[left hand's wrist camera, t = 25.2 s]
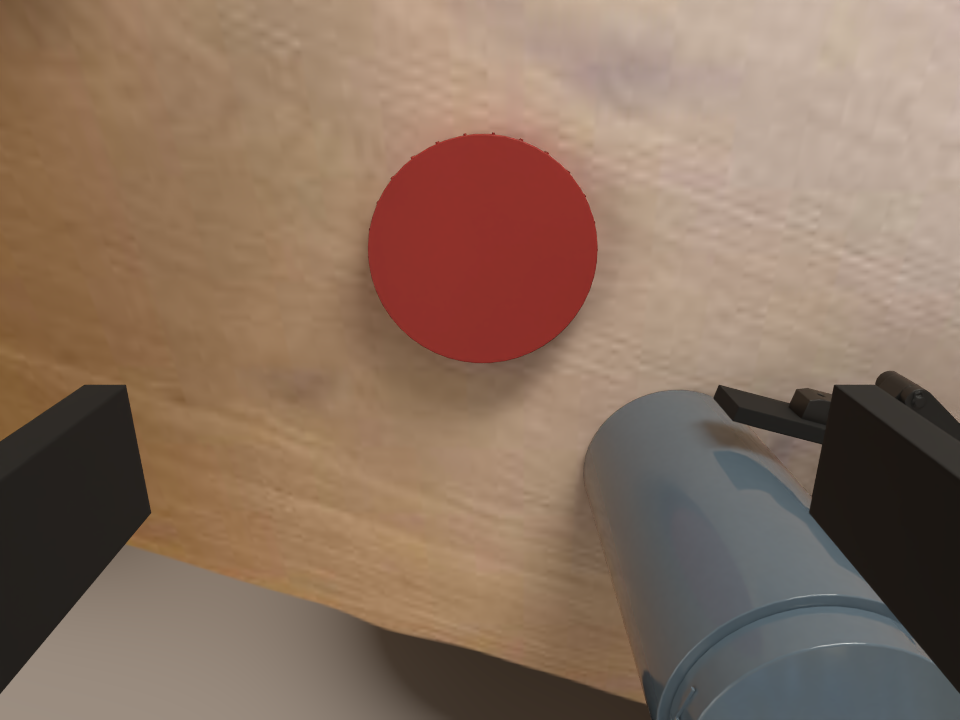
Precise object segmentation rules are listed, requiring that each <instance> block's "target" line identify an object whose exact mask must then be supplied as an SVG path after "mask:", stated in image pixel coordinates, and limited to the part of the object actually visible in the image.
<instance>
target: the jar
mask: <svg viewBox="0 0 960 720" xmlns="http://www.w3.org/2000/svg"><path fill="white" fill-rule="evenodd" d="M713 398H714V397H711V396H709V395H706V394H703V393H699V392H694V391H686V390H669V391H662V392H656V393H653V394H649V395H646V396H643V397H640V398H638V399H635V400H634V401H632V402H630V403H628V404H626V405H625V406H623V407H622V408H620V409H619V410H617V411H616V412H615V413H614V414H613V415H611V416H610V417H609V418H608V419H607V420H606V421H605V422H604V424H603V425H602V426H601V427H600V428H599V430H598V431H597V433H596V434H595V436H594V437H593V439H592V441H591V443H590V445H589V448H588V451H587V454H586V458H585V463H584V484H585V489H586V493H587V496H588V500H589V503H590V507H591V510H592V514H593V517H594V521H595V524H596V528H597V531H598V535H599V538H600V542H601V545H602V549H603V552H604V556H605V559H606V563H607V566H608V570H609V573H610V577H611V580H612V584H613V587H614V591H615V594H616V598H617V601H618V605H619V608H620V612H621V615H622V619H623V622H624V626H625V629H626V633H627V636H628V640H629V643H630V647H631V650H632V654H633V657H634V661H635V664H636V668H637V671H638V675H639V678H640V682H641V685H642V689H643V692H644V696H645V699H646V703H647V706H648V710H649V713H650V717H651V720H960V694H959V692H958V691H957V690H956V689H955V688H954V686H953V685H952V684H951V683H950V682H949V680H948V679H947V678H946V677H945V676H944V674H943V673H942V672H941V671H940V670H939V668H938V667H937V666H936V665H935V664H934V662H933V661H932V660H931V659H930V658H929V656H928V655H927V654H926V653H925V652H924V650H923V649H922V648H921V647H920V646H919V644H918V643H917V642H916V641H915V640H914V638H913V637H912V636H911V635H910V634H909V632H908V631H907V630H906V629H905V628H904V626H903V625H902V624H901V623H900V622H899V620H898V619H897V618H896V617H895V616H894V614H893V613H892V612H891V611H890V610H889V608H888V607H887V606H886V605H885V604H884V602H883V601H882V600H881V599H880V598H879V596H878V595H877V594H876V593H875V592H874V590H873V589H872V588H871V587H870V586H869V584H868V583H867V582H866V581H865V580H864V578H863V577H862V576H861V575H860V574H859V572H858V571H857V570H856V569H855V568H854V566H853V565H852V564H851V563H850V562H849V560H848V559H847V558H846V557H845V556H844V554H843V553H842V552H841V551H840V550H839V548H838V547H837V546H836V545H835V544H834V542H833V541H832V540H831V539H830V538H829V536H828V535H827V534H826V533H825V532H824V530H823V529H822V528H821V527H820V526H819V525H818V523H817V522H816V521H815V520H814V519H813V517H812V516H811V515H810V514H809V510H810V505H811V500H812V496H811V495H810V494H809V493H808V492H807V491H806V490H805V489H804V487H803V486H802V485H801V484H800V483H799V482H798V481H797V480H796V478H795V477H794V476H793V475H792V474H791V473H790V472H789V471H788V470H787V468H786V467H785V466H784V465H783V464H782V463H781V462H780V461H779V459H778V458H777V457H776V456H775V455H774V454H773V453H772V452H771V450H770V449H769V448H768V447H767V446H766V445H765V444H764V443H763V441H762V440H761V439H760V438H759V437H758V436H757V435H756V434H755V433H754V431H753V430H752V429H751V428H750V427H749V426H748V425H745V424H741V423H738V422H734V421H732V420H731V419H730V417H729V416H728V415H727V414H726V413H725V412H724V410H723V409H722V408H721V407H720V406H719V405H718V403H717V402H716V401H715V400H714V399H713Z"/></svg>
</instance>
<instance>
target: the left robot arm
mask: <svg viewBox="0 0 960 720" xmlns="http://www.w3.org/2000/svg"><path fill="white" fill-rule="evenodd" d="M150 514H151V510H150V505H149V500H148V494H147V489H146V484H145V479H144V474H143V469H142V464H141V459H140V454H139V449H138V444H137V439H136V434H135V429H134V424H133V419H132V414H131V408H130V403H129V398H128V393H127V388H126V385H84V386H82V387H81V388H79V389H78V390H76V391H75V392H73V393H72V394H70V395H69V396H67V397H66V398H64V399H63V400H61V401H60V402H58V403H57V404H55V405H54V406H52V407H51V408H49V409H48V410H47V411H45V412H44V413H42V414H41V415H39V416H38V417H36V418H35V419H33V420H32V421H30V422H29V423H27V424H26V425H24V426H23V427H21V428H20V429H18V430H17V431H15V432H14V433H12V434H11V435H9V436H8V437H6V438H5V439H3V440H2V441H0V694H1V692H2V691H3V690H4V689H5V688H6V686H7V685H8V684H9V683H10V682H11V680H12V679H13V678H14V677H15V676H16V674H17V673H18V672H19V671H20V670H21V668H22V667H23V666H24V665H25V664H26V662H27V661H28V660H29V659H30V658H31V656H32V655H33V654H34V653H35V652H36V650H37V649H38V648H39V647H40V646H41V644H42V643H43V642H44V641H45V640H46V638H47V637H48V636H49V635H50V634H51V632H52V631H53V630H54V629H55V628H56V626H57V625H58V624H59V623H60V622H61V620H62V619H63V618H64V617H65V616H66V614H67V613H68V612H69V611H70V610H71V608H72V607H73V606H74V605H75V604H76V602H77V601H78V600H79V599H80V598H81V596H82V595H83V594H84V593H85V592H86V590H87V589H88V588H89V587H90V586H91V584H92V583H93V582H94V581H95V580H96V578H97V577H98V576H99V575H100V574H101V572H102V571H103V570H104V569H105V568H106V566H107V565H108V564H109V563H110V562H111V560H112V559H113V558H114V557H115V556H116V554H117V553H118V552H119V551H120V550H121V548H122V547H123V546H124V545H125V544H126V542H127V541H128V540H129V539H130V538H131V536H132V535H133V534H134V533H135V532H136V530H137V529H138V528H139V527H140V526H141V525H142V523H143V522H144V521H145V520H146V519H147V517H148V516H149V515H150ZM809 514H810V515H811V516H812V517H813V519H814V520H815V521H816V522H817V523H818V525H819V526H820V527H821V528H822V529H823V530H824V532H825V533H826V534H827V535H828V536H829V538H830V539H831V540H832V541H833V542H834V544H835V545H836V546H837V547H838V548H839V550H840V551H841V552H842V553H843V554H844V556H845V557H846V558H847V559H848V560H849V562H850V563H851V564H852V565H853V566H854V568H855V569H856V570H857V571H858V572H859V574H860V575H861V576H862V577H863V578H864V580H865V581H866V582H867V583H868V584H869V586H870V587H871V588H872V589H873V590H874V592H875V593H876V594H877V595H878V596H879V598H880V599H881V600H882V601H883V602H884V604H885V605H886V606H887V607H888V608H889V610H890V611H891V612H892V613H893V614H894V616H895V617H896V618H897V619H898V620H899V622H900V623H901V624H902V625H903V626H904V628H905V629H906V630H907V631H908V632H909V634H910V635H911V636H912V637H913V638H914V640H915V641H916V642H917V643H918V644H919V646H920V647H921V648H922V649H923V650H924V652H925V653H926V654H927V655H928V656H929V658H930V659H931V660H932V661H933V662H934V664H935V665H936V666H937V667H938V668H939V670H940V671H941V672H942V673H943V674H944V676H945V677H946V678H947V679H948V680H949V682H950V683H951V684H952V685H953V686H954V688H955V689H956V690H957V691H958V692H959V694H960V441H958V440H957V439H955V438H954V437H952V436H951V435H949V434H948V433H946V432H945V431H943V430H942V429H940V428H939V427H937V426H936V425H934V424H933V423H931V422H930V421H928V420H927V419H925V418H924V417H922V416H921V415H919V414H918V413H916V412H915V411H913V410H912V409H911V408H909V407H908V406H906V405H905V404H903V403H902V402H900V401H899V400H897V399H896V398H894V397H893V396H891V395H890V394H888V393H887V392H885V391H884V390H882V389H881V388H879V387H878V386H876V385H834V388H833V393H832V398H831V403H830V408H829V413H828V419H827V424H826V429H825V434H824V439H823V444H822V449H821V454H820V459H819V464H818V469H817V474H816V479H815V484H814V489H813V494H812V500H811V505H810V510H809Z"/></svg>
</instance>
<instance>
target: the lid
mask: <svg viewBox="0 0 960 720" xmlns="http://www.w3.org/2000/svg"><path fill="white" fill-rule="evenodd" d="M463 135H464V136H459V137H455V138H452V139H449V140H445V141H443V142H439V141H438V142H436V145H434V146H431V147H429V148H427V149H426V150H424V151H423V152H421V153H419V154H418V155H416V156H412V157H411V160H410V161H409V162H408V163H406V164H405V165H404V166H403V167H402V168H401V169H400V170H399V171H398V172H397V174H396V175H395V176H393V177H391V179H392V180H391V181H390V182H389V184H388V185H387V187H386V188H385V190H384V191H383V193H382V195H381V197H380V199H379V201H377V206H376V209H375V212H374V214H373V217H372V221H371V226H370V228H369V241H368V258H369V266H370V271H371V276H372V280H373V283H374V286H375V289H376V292H377V294H378V296H379V298H380V300H381V302H382V304H383V306H384V308H385V309H386V311H387V312H388V314H389V315H390V317H391V318H392V319H393V320H394V322H395V323H396V324H397V325H398V326H399V327H400V328H401V329H402V330H403V331H404V332H405V333H406V334H407V335H408V336H409V337H410V338H412V339H413V340H415V341H416V342H417V343H419V344H420V345H422V346H423V347H425V348H427V349H429V350H431V351H433V352H434V353H437V354H439V355H442V356H445V357H447V358H451V359H455V360H459V361H464V362H472V363H493V362H501V361H507V360H510V359H514V358H518V357H521V356H523V355H526V354H528V353H531V352H533V351H535V350H537V349H538V348H540V347H542V346H544V345H545V344H547V343H548V342H549V341H551V340H552V339H554V338H555V337H556V336H557V335H558V334H559V333H560V332H562V331H563V330H564V329H565V328H566V327H567V326H568V324H569V323H570V322H571V321H572V320H573V318H574V317H575V316H576V314H577V313H578V311H579V310H580V308H581V307H582V305H583V303H584V301H585V299H586V297H587V295H588V293H589V291H590V288H591V284H592V281H593V278H594V274H595V269H596V263H597V251H598V249H597V234H596V228H595V221H594V219H593V215H592V213H591V210H590V207H589V204H588V202H587V200H586V198H585V197H586V196H585V194H583V192H582V190H581V189H580V187H579V186H578V184H577V183H576V182H575V180H574V179H573V177H572V176H571V175H570V172H569V171H568V170H565V169H564V167H563V166H562V165H561V164H559V163H558V162H557V161H556V160H554V159H553V158H552V157H551V156H550V155H548V154H549V153H548V152H546V151H544V152H543V151H541V150H540V149H538V148H536V147H535V146H532V145H530V144H528V143H525V142H523V139H519V140H517V139H514V138H510V137H506V136H501V135H495V133H492V134H472V135H466V133H465V134H463Z"/></svg>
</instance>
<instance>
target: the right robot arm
mask: <svg viewBox="0 0 960 720" xmlns="http://www.w3.org/2000/svg"><path fill="white" fill-rule="evenodd" d="M876 386H878V387H879V388H881V389H882V390H884V391H885V392H887V393H888V394H890V395H891V396H893V397H894V398H896V399H897V400H899V401H900V402H902V403H903V404H905V405H906V406H908V407H909V408H911V409H912V410H913V411H915V412H916V413H918V414H919V415H921V416H922V417H924V418H925V419H927V420H928V421H930V422H931V423H933V424H934V425H936V426H937V427H939V428H940V429H942V430H943V431H945V432H946V433H948V434H949V435H951V436H952V437H954V438H955V439H957V440H958V441H960V423H959V422H958V421H957V420H956V419H955V418H954V417H953V416H952V415H951V414H950V413H949V412H948V411H947V410H946V409H945V408H944V407H943V406H942V405H941V404H940V403H939V402H938V401H937V400H936V399H935V398H934V396H933V395H932V394H931V393H930V392H928V391H927V390H925V389H923V388H922V387H920V386H919V385H917V384H915V383H913V382H912V381H910V380H908V379H907V378H905V377H903V376H901V375H900V374H898V373H896V372H894V371H887V372H884V373H882V374H881V375H880V376H879V377H878V378H877V380H876ZM831 398H832V394H827V393H824V392H819V391H817V390H813V389H809V388H804V389H796V391H795V394H794V396H793V398H792V400H791V402H790V403H786V402H782V401H778V400H775V399H771V398H767V397H763V396H759V395H756V394H752V393H748V392H744V391H740V390H737V389H733V388H729V387H725V386H721V385H719V386H718V388H717V391H716V393H715V395H714V398H713V399H714V400H715V401H716V402H717V403H718V405H719V406H720V407H721V408H722V409H723V410H724V412H725V413H726V414H727V415H728V416H729V417H730V419H731V420H732V421H734V422H738V423H741V424H745V425H749V426H753V427H757V428H761V429H765V430H768V431H772V432H776V433H780V434H784V435H788V436H792V437H796V438H799V439H803V440H807V441H811V442H815V443H819V444H823V439H824V434H825V429H826V424H827V419H828V413H829V408H830V403H831Z"/></svg>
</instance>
